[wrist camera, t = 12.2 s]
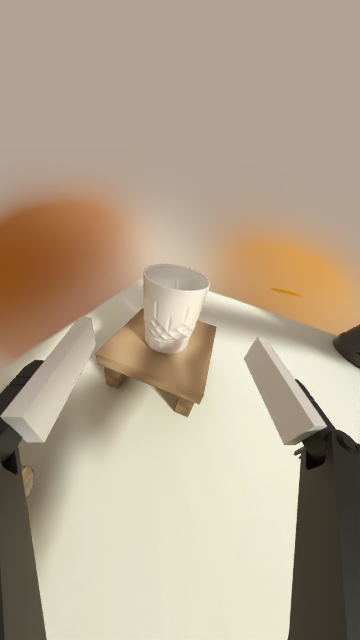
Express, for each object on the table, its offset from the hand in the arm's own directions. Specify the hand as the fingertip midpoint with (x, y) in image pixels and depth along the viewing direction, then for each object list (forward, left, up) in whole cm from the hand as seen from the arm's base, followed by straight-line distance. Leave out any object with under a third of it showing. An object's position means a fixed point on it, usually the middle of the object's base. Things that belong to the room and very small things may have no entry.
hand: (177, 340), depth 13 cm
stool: (+3, -8, -15) cm, 17 cm away
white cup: (+3, -8, -8) cm, 12 cm away
